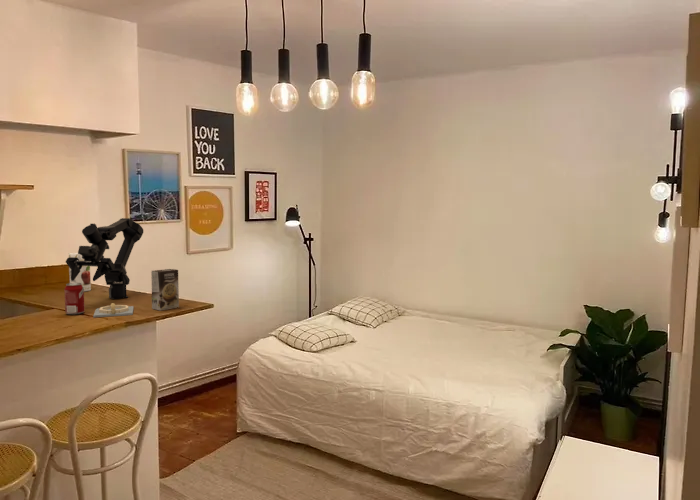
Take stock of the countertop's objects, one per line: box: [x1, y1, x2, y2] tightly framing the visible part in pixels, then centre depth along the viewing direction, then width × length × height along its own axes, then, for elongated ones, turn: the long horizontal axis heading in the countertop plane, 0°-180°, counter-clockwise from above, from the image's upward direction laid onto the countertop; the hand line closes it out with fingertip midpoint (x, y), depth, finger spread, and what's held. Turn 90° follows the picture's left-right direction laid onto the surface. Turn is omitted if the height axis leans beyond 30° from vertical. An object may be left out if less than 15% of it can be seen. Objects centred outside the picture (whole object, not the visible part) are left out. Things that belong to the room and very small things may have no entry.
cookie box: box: [150, 268, 180, 311], centre depth 220 cm, size 9×6×16 cm
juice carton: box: [68, 251, 92, 293], centre depth 258 cm, size 8×9×19 cm
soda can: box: [63, 282, 85, 316], centre depth 209 cm, size 7×7×12 cm
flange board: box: [92, 302, 134, 319], centre depth 211 cm, size 14×14×5 cm
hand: (82, 280), depth 214 cm, fingers open, 9 cm apart
